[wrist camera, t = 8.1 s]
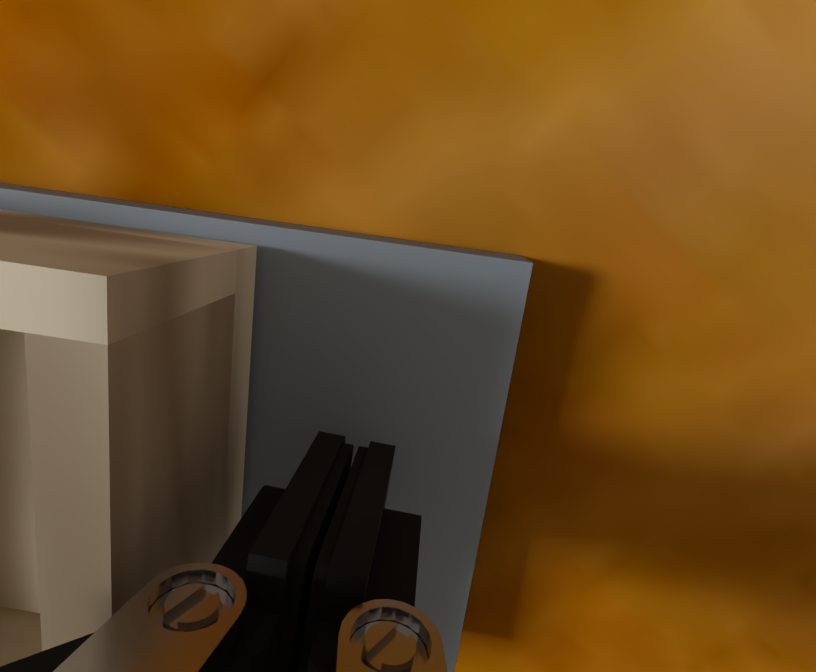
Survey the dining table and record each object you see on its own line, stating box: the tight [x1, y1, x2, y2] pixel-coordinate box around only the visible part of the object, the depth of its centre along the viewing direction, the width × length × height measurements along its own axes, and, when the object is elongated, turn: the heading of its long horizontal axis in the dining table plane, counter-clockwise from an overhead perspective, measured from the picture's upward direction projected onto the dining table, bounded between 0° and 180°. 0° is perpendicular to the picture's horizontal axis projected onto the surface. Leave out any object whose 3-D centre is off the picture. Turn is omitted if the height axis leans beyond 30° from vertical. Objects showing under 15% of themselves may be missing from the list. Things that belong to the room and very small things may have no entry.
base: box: [0, 183, 533, 672], centre depth 9 cm, size 18×10×8 cm, turn 82°
